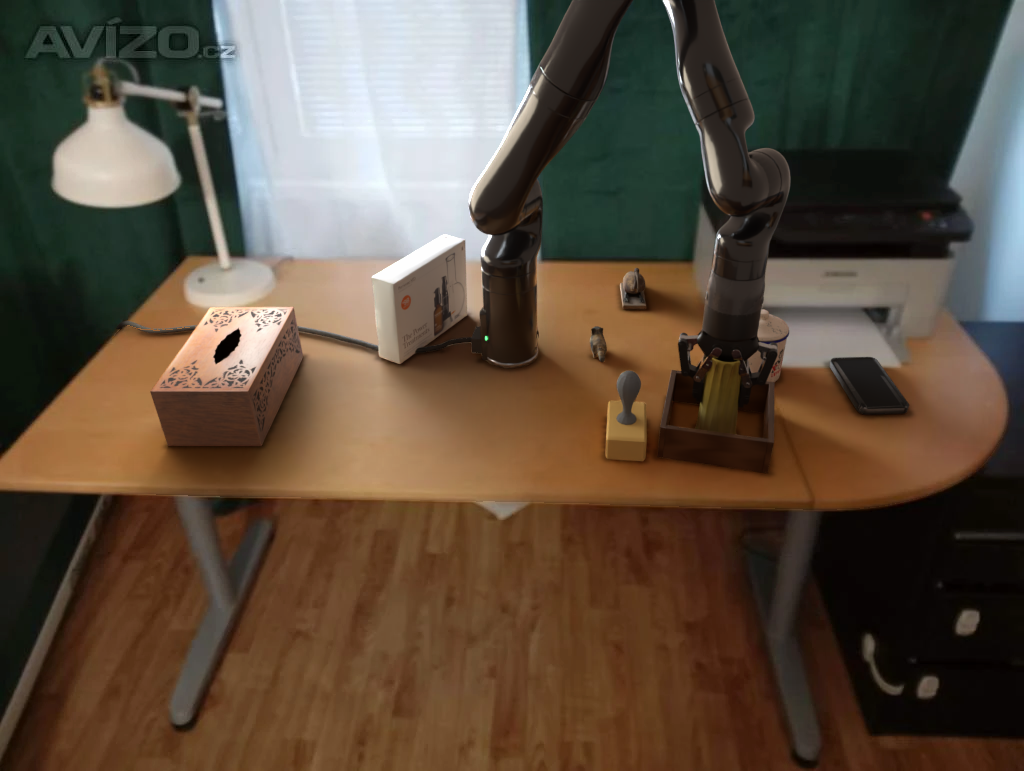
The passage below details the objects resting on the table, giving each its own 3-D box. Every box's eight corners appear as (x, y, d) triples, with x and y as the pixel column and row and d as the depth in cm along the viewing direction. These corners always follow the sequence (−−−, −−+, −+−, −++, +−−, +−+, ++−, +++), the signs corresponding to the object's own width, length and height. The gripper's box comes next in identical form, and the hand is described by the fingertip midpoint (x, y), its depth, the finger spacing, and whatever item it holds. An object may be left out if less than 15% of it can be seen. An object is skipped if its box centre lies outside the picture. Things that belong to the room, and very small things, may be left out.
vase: (741, 429, 124) (755, 348, 116) (727, 450, 120) (740, 368, 112) (703, 417, 127) (714, 337, 119) (688, 437, 123) (698, 356, 115)
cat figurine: (602, 340, 146) (604, 323, 144) (609, 371, 141) (611, 354, 138) (587, 341, 146) (588, 324, 143) (593, 372, 141) (595, 355, 138)
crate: (657, 457, 119) (659, 427, 116) (668, 398, 132) (671, 369, 129) (768, 473, 116) (774, 442, 113) (769, 411, 128) (774, 381, 125)
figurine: (648, 320, 153) (651, 278, 148) (624, 320, 153) (626, 278, 148) (642, 286, 165) (644, 246, 160) (619, 286, 165) (621, 246, 160)
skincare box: (402, 366, 142) (392, 283, 133) (378, 358, 144) (367, 276, 135) (471, 315, 156) (466, 237, 148) (447, 308, 159) (441, 231, 150)
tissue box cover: (261, 446, 124) (247, 391, 118) (167, 445, 124) (150, 391, 119) (303, 356, 145) (293, 306, 140) (223, 356, 146) (210, 307, 140)
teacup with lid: (782, 390, 133) (794, 327, 126) (724, 384, 135) (733, 322, 128) (779, 352, 142) (790, 292, 136) (725, 347, 144) (733, 288, 138)
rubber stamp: (607, 419, 127) (610, 353, 121) (644, 421, 127) (650, 355, 120) (605, 458, 119) (608, 390, 113) (645, 461, 119) (650, 393, 112)
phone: (861, 409, 126) (828, 357, 138) (859, 415, 126) (827, 363, 139) (912, 407, 126) (875, 356, 138) (910, 413, 126) (874, 362, 139)
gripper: (788, 292, 112) (770, 394, 122) (683, 282, 116) (672, 382, 125) (789, 318, 106) (769, 423, 116) (677, 307, 110) (667, 409, 119)
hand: (719, 401), depth 120 cm, fingers closed on vase, 5 cm apart
